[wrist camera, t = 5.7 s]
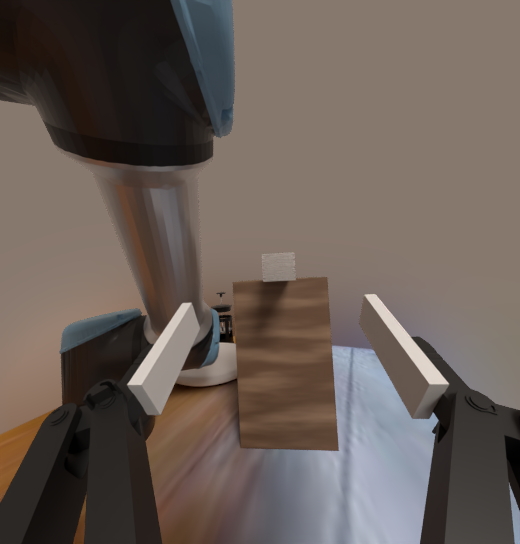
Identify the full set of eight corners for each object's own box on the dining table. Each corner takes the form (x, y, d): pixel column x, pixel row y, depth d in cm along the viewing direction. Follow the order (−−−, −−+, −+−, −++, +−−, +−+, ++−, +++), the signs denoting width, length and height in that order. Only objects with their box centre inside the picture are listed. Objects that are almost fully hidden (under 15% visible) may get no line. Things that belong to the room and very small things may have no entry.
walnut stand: (338, 450, 31) (327, 277, 32) (240, 447, 32) (232, 282, 33) (317, 391, 47) (310, 277, 48) (253, 391, 48) (247, 280, 49)
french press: (228, 338, 93) (226, 291, 94) (238, 343, 86) (236, 291, 87) (205, 344, 86) (203, 293, 87) (214, 350, 79) (211, 294, 80)
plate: (252, 338, 76) (253, 371, 50) (251, 355, 76) (252, 397, 50) (181, 336, 75) (142, 368, 49) (180, 352, 75) (141, 394, 48)
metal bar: (295, 280, 21) (294, 252, 21) (263, 281, 21) (261, 254, 21) (284, 278, 52) (284, 267, 53) (272, 279, 53) (271, 268, 53)
